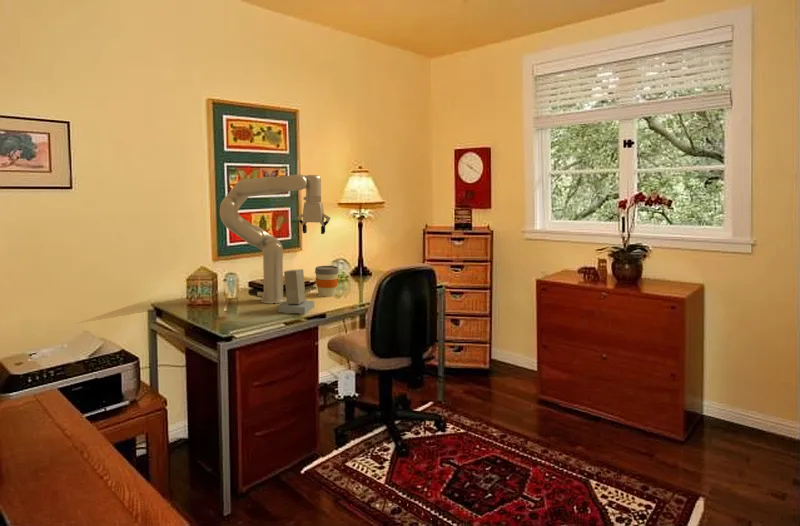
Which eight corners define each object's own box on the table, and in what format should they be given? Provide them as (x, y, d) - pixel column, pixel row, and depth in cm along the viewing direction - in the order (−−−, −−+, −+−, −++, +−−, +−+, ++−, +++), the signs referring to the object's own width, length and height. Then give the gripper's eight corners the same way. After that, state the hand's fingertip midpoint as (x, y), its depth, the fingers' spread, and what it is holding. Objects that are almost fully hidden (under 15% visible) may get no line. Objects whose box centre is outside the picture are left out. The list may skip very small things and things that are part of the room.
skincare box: (298, 304, 254) (297, 271, 252) (285, 304, 256) (283, 271, 254) (306, 301, 262) (304, 268, 260) (293, 300, 264) (291, 268, 262)
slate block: (278, 313, 255) (278, 305, 254) (289, 307, 267) (288, 299, 267) (304, 315, 252) (304, 307, 252) (314, 309, 265) (314, 301, 264)
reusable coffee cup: (319, 291, 300) (319, 265, 298) (341, 293, 298) (341, 266, 295) (311, 296, 288) (311, 268, 286) (334, 298, 286) (334, 270, 283)
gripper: (294, 199, 273) (295, 233, 276) (327, 200, 269) (327, 234, 272) (300, 198, 280) (300, 232, 283) (332, 199, 277) (332, 233, 279)
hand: (313, 233), depth 277 cm, fingers open, 9 cm apart
